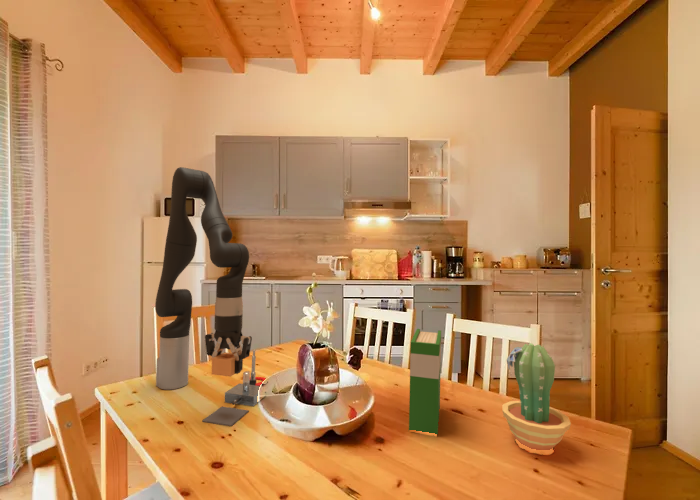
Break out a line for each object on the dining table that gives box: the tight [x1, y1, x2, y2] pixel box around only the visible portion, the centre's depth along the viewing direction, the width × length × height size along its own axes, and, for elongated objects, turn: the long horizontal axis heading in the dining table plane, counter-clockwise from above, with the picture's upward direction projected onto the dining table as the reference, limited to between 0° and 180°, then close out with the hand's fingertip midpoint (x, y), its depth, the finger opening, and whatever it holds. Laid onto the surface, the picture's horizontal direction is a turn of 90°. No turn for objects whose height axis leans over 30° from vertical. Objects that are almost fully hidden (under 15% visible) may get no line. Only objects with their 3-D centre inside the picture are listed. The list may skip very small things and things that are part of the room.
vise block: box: [224, 370, 260, 407], centre depth 109 cm, size 10×11×8 cm
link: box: [211, 351, 244, 377], centre depth 98 cm, size 6×6×4 cm
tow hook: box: [249, 349, 266, 386], centre depth 124 cm, size 8×13×9 cm
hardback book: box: [408, 328, 442, 435], centre depth 99 cm, size 18×7×24 cm, turn 163°
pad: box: [202, 406, 250, 427], centre depth 98 cm, size 9×9×1 cm
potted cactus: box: [501, 343, 572, 450], centre depth 87 cm, size 15×15×25 cm
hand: (227, 371), depth 98 cm, fingers closed on link, 6 cm apart
